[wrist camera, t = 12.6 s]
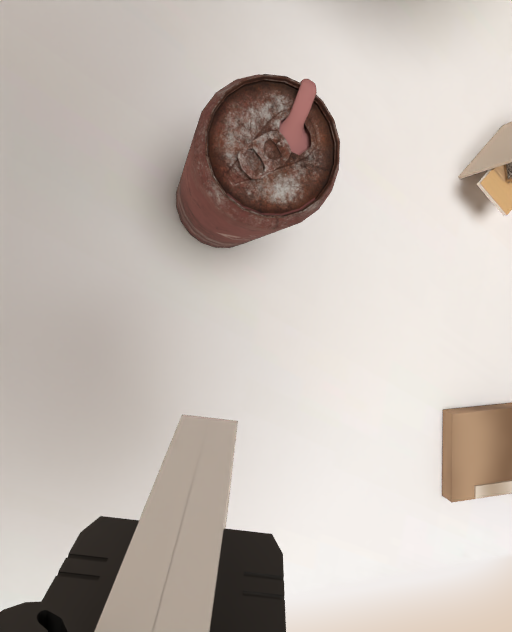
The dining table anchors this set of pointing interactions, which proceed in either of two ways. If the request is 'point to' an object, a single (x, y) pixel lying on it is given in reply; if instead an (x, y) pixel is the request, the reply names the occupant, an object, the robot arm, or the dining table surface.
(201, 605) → the robot arm
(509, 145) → the architectural model
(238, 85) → the can
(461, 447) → the gauge body
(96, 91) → the dining table surface
